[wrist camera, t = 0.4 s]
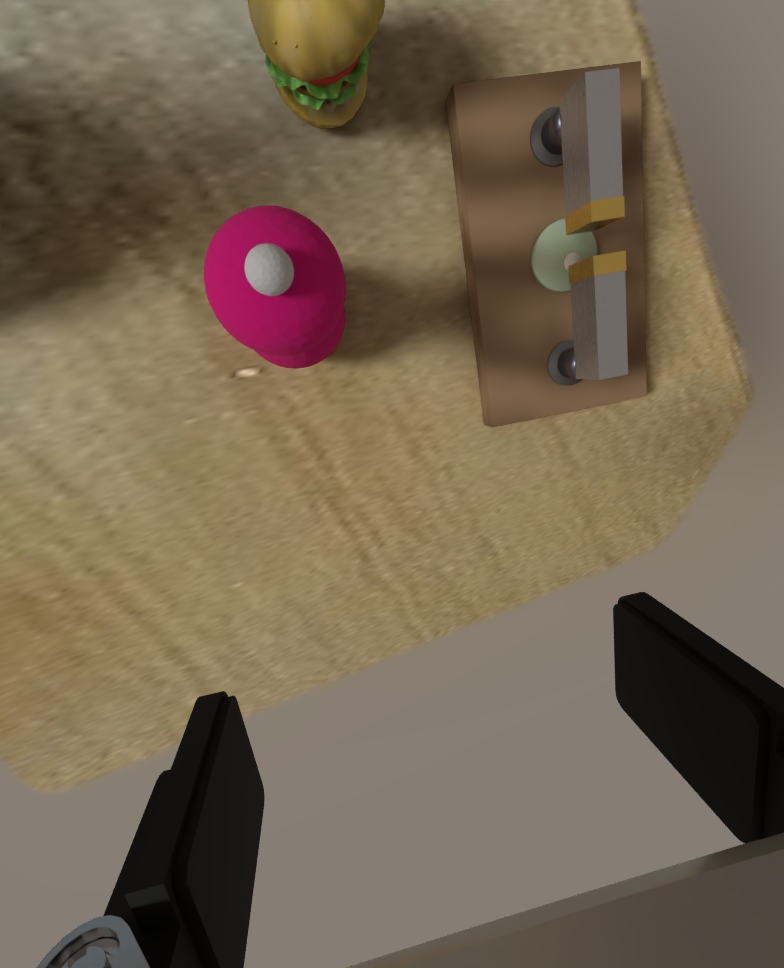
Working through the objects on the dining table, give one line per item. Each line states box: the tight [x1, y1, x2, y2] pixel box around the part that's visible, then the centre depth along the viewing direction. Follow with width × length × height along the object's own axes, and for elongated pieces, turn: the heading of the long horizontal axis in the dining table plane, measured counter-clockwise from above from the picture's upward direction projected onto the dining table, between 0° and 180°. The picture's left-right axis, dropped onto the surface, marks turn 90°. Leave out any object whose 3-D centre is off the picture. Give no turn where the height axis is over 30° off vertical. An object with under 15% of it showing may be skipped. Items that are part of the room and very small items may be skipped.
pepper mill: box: [204, 206, 346, 368], centre depth 25 cm, size 7×7×20 cm
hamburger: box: [248, 0, 385, 128], centre depth 26 cm, size 8×7×12 cm
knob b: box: [557, 251, 628, 380], centre depth 33 cm, size 8×2×6 cm, turn 10°
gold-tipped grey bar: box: [541, 68, 625, 235], centre depth 30 cm, size 8×2×6 cm, turn 10°
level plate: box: [446, 61, 647, 427], centre depth 35 cm, size 24×14×3 cm, turn 10°
